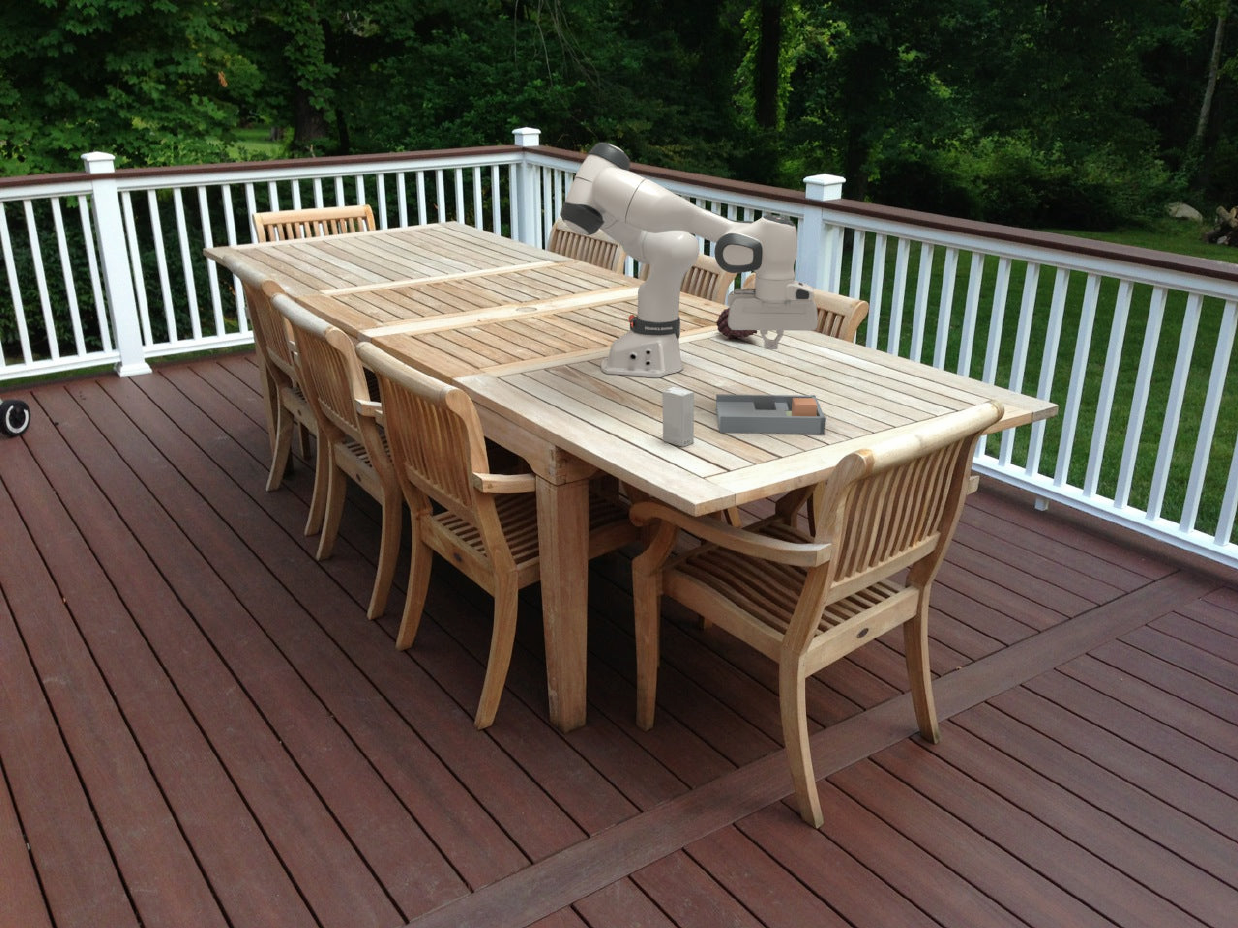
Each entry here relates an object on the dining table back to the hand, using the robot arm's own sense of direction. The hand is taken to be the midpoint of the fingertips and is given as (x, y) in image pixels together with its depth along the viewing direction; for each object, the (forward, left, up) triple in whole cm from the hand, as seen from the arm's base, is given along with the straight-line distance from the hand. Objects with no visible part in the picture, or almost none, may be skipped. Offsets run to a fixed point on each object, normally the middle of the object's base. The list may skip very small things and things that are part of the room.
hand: (770, 348), depth 252 cm
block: (+8, -3, -16) cm, 18 cm away
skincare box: (-21, -14, -18) cm, 32 cm away
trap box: (+1, +1, -18) cm, 18 cm away
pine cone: (-1, +75, -18) cm, 77 cm away
